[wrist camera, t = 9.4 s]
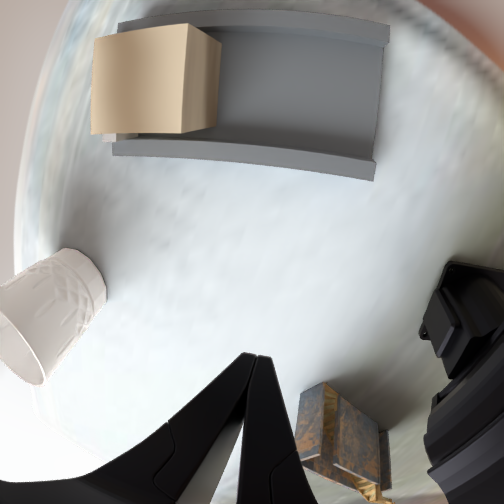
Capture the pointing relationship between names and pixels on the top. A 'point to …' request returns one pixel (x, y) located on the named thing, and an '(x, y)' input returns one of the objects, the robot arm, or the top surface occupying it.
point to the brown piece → (342, 444)
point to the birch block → (155, 81)
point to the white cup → (48, 313)
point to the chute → (281, 92)
